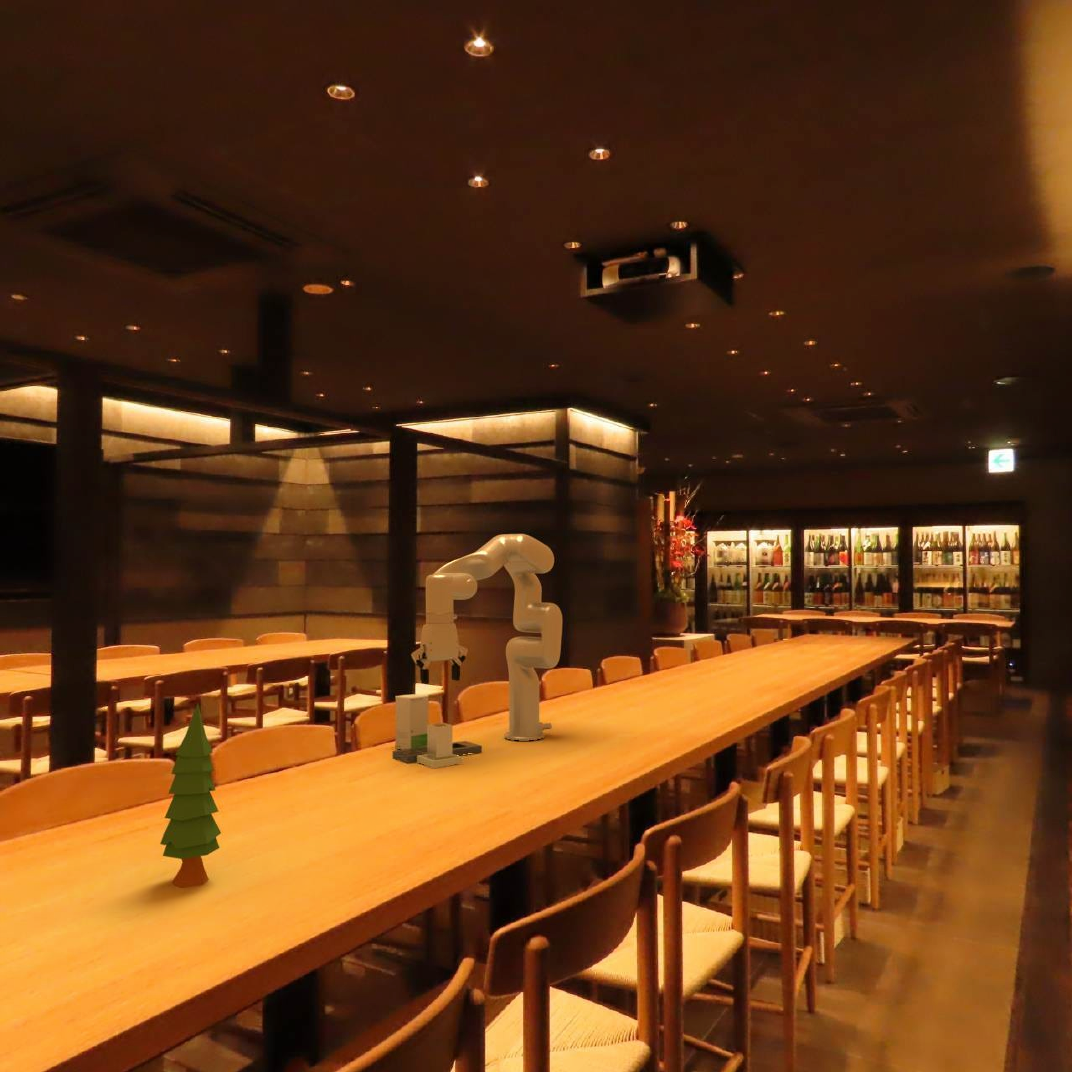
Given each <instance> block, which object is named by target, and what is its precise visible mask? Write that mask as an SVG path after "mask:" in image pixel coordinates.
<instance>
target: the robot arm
mask: <svg viewBox="0 0 1072 1072" xmlns="http://www.w3.org/2000/svg"><path fill="white" fill-rule="evenodd" d="M554 563H555V556H554V553H553V551H552V550H551V548H550V547H549V546H548V545H546V544H544V543H543V542H541V541H540V540H538V539H536V538H534V537H533V536H530V535H528V534H525V533H508V534H498V535H495V536H494V537H492V538H491V539H490V540H489V541H488V542H486V543H485V544H484V545H482V546H481V547H480V548H478V550H476V551H475V552H473V553H470V554H467V555H465V556H462V557H461V558H460V557H459V558H458V559H454V560H452V561H451V562H447V563H446V564H444V565H443V566H441V567H440V568H439V569H437V570H436V571H435V572H434V573H433V574H429V575H427V576H426V578H425V618H426V619H425V624H423V626H422V630H421V635H420V645H419V646H420V647H419V648H417V649H416V650H415V651H413V652H412V653H411V655H410V656H411V659H412V660H413V662H414V664H415V665H416V667H418V669H419V675H420V677H419V679H420V682H421V684H424V685H429V684H430V670H429V669H428V668H429V666H430V664H431V663H432V662H445V661H446V662H447V661H450V662H451V663H452V665H451V680H452V681H457V682H458V681H460V677H461V666H462V664H463V663H464V661H465V660H466V656H467V654H468V652H469V649H468V648H466V646H465V647H464V646H462V645H460V644H459V636H458V629H457V626H456V623H454V621H455V620H457V618H458V615H457V613H456V614H455V611H454V600H459V601H460V600H468V599H469V600H470V599H471V598H473V596H474V595H475V594H476V593H477V591H478V582H477V581H480V580H485V579H488V578H490V577H492V576H494V574H496V573H497V572H498V571H499V570H500V569H502V568H503V567H504V568H505V570H506V572H508V573H509V576H510V577H511V579H512V581H513V585H514V602H513V603H514V604H513V613H512V614H513V615H512V618H513V619H512V621H513V622H512V623H513V627H514V629H516V630H517V631H518V632H523V633H537V634H541V636H539V637H538V636H537V637H536V636H516V637H513V638H511V639H510V640H509V641H508V642H507V644H506V645H505V646H506V647H505V658H506V661H507V669H508V732H505V733H504V734H503V736H504V737H505V738H507V739H506V740H508V739H511V740H510V741H514V740H519V741H518V742H530V741H529V740H534V741H538V740H537V739H540V740H542V739H541V738H543V737H544V738H545V733H544V732H543V731H545V730H552V728H553V725H552V723H550V722H546V723H543V722H541V721H540V679H539V676H538V674H537V672H536V670H535V669H553V668H554V667H556V666H557V665H558V663H559V661H560V659H561V658H560V657H561V649H562V648H561V647H562V636H563V614H562V611H561V609H560V607H559V605H557V604H555V603H553V602H542V590H543V589H542V585H541V584H542V583H541V582H540V580H539V577H537V575H536V574H545V573H548V572H550V571H551V570H552V568H553V567H554ZM459 652H460V653H459ZM459 654H460V655H459ZM504 737H503V738H504ZM505 738H504V739H505ZM544 738H543V739H544Z"/></svg>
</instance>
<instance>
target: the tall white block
mask: <svg viewBox="0 0 1072 1072" xmlns="http://www.w3.org/2000/svg"><path fill="white" fill-rule="evenodd" d="M452 743H453V725H452V724H449V723H445V722H440V723H439V722H438V723H430V724H428V725H427V759H430V760H433V761H436V760H442V759H449V758H452Z"/></svg>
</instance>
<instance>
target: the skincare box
mask: <svg viewBox="0 0 1072 1072" xmlns="http://www.w3.org/2000/svg"><path fill="white" fill-rule="evenodd" d="M429 696H430V695H427V694H415V693H412V694H402V695H395V735H394V737H395V738H394V739H395V744H394V745H395V750H398V749H401V750H402V749H410V748H417V747H424V746H427V725H428V724H429V709H430V707H429V699H430V698H429Z"/></svg>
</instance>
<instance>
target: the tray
mask: <svg viewBox="0 0 1072 1072" xmlns="http://www.w3.org/2000/svg"><path fill="white" fill-rule="evenodd" d="M416 763H417V764H419V763H421V764H420V765H422V764H424V765H423V766H425V765H426V766H425V767H427V768H431V769H439V767H440V768H445V767H444V766H446V767H450V766H449V765H453V766H455V765H454V764H459V765H461V764H460V763H462V764H463V756H457V755H454V754H452V758H449V759H442V760H436V761H433V760H430V759H427V754H425V755H418V756H417V762H416Z"/></svg>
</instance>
